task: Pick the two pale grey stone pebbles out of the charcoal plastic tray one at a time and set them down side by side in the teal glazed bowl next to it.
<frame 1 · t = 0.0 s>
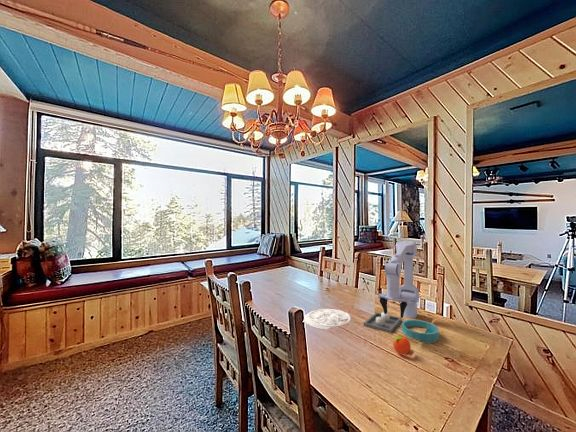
hand: (393, 315, 125), 10 cm above the table, fingers open, 7 cm apart
tray: (383, 325, 138), on the table
bowl: (419, 334, 126), on the table
ceiling medallion: (328, 320, 147), on the table
stone a: (385, 320, 141), point 1 cm above the table, touching tray
stone b: (380, 325, 135), point 1 cm above the table, touching tray
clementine: (400, 353, 110), on the table
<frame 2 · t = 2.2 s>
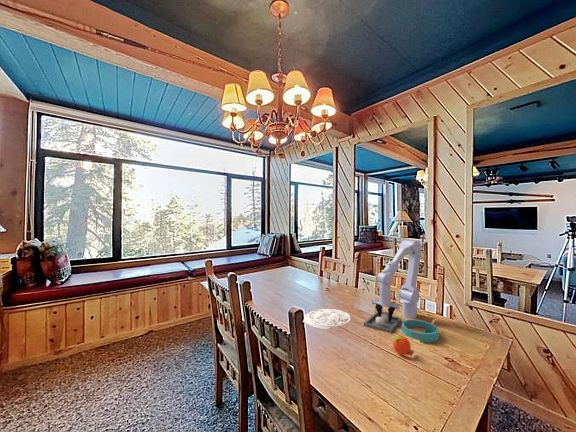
hand: (385, 319, 141), 2 cm above the table, fingers closed on stone a, 4 cm apart
stone a: (385, 320, 141), point 1 cm above the table, touching gripper, tray
everything else where it was.
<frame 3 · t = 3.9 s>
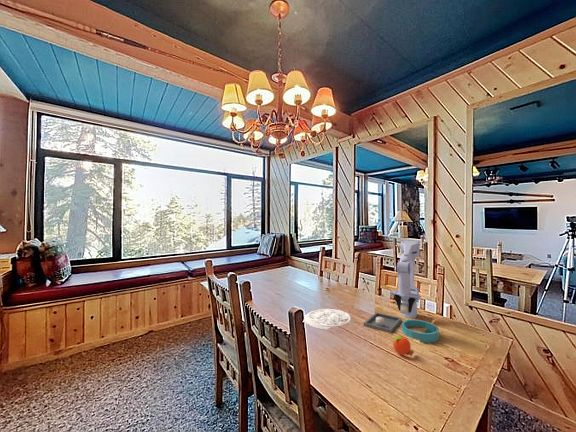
hand: (404, 310, 134), 9 cm above the table, fingers closed on stone a, 4 cm apart
stone a: (404, 312, 134), point 8 cm above the table, touching gripper
everything else where it was.
when the fingers open (4 cm above the table, at t = 5.9 s): stone a drops 2 cm, resting on bowl.
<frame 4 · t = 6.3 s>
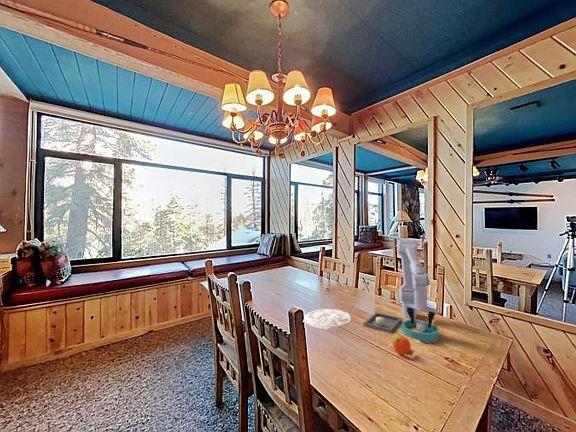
hand: (421, 325, 129), 4 cm above the table, fingers open, 7 cm apart
stone a: (421, 330, 129), point 1 cm above the table, touching bowl
everything else where it was.
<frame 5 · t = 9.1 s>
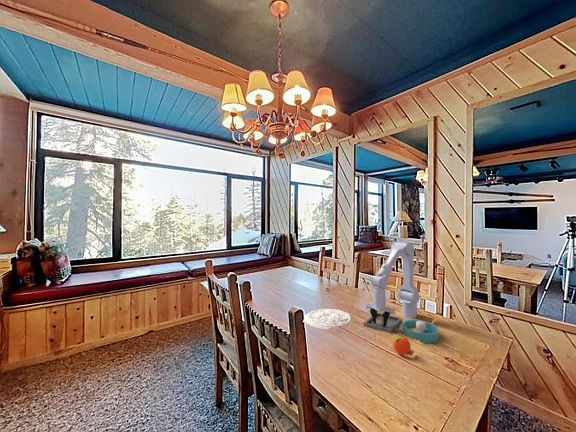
hand: (380, 324, 135), 2 cm above the table, fingers closed on stone b, 4 cm apart
stone b: (380, 325, 135), point 1 cm above the table, touching gripper, tray
everything else where it was.
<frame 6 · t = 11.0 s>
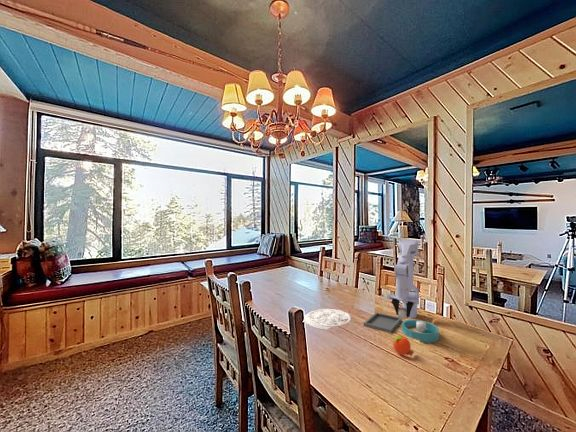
hand: (403, 315, 128), 9 cm above the table, fingers closed on stone b, 4 cm apart
stone b: (402, 316, 128), point 8 cm above the table, touching gripper
everything else where it was.
when the fingers open (4 cm above the table, at t = 12.9 s): stone b drops 2 cm, resting on bowl.
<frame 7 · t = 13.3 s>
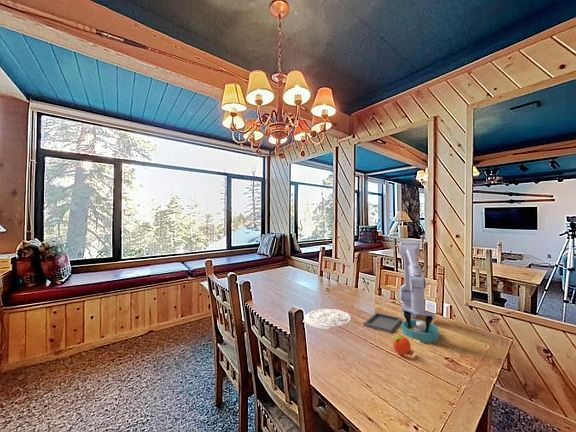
hand: (418, 329, 124), 4 cm above the table, fingers open, 7 cm apart
stone b: (418, 335, 124), point 1 cm above the table, touching bowl
everything else where it was.
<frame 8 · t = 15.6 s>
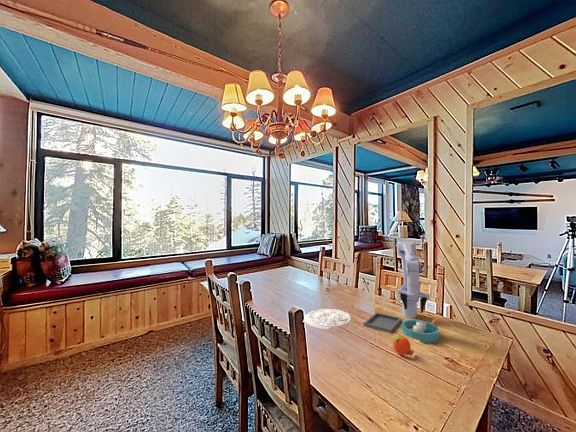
hand: (413, 310, 132), 10 cm above the table, fingers open, 7 cm apart
nothing on the table moved.
at the end: stone a inside the target area on the bowl (2.9 cm from its centre), point 0.8 cm above the bowl's base; stone b inside the target area on the bowl (3.1 cm from its centre), point 0.8 cm above the bowl's base; the gripper is holding nothing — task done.
